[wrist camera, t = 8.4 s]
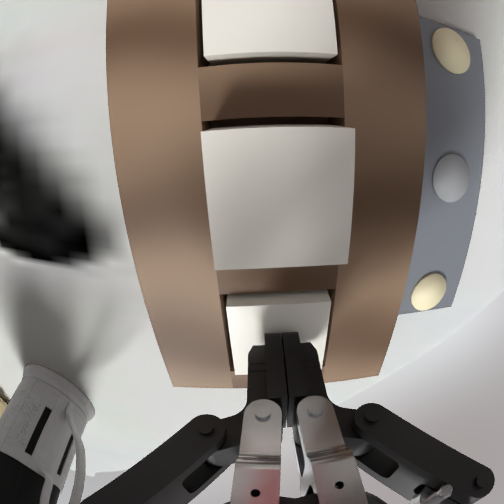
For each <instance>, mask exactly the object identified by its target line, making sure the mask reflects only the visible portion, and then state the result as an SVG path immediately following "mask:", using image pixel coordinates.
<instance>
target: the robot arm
mask: <svg viewBox="0 0 504 504" xmlns="http://www.w3.org/2000/svg"><path fill="white" fill-rule="evenodd" d="M264 338H265V345H253V346H252V348H251V350H250V351H249V353H248V382H247V403H246V406H245V407H244V409H243V410H242V411H241V412H239V413H238V414H236V415H234V416H231V417H227V418H223V419H219V418H218V417H216V416H214V415H208V414H205V415H200V416H197V417H195V418H194V419H192V420H191V421H190V422H189V423H188V424H186V425H185V426H184V427H183V428H182V429H180V430H179V431H178V432H177V433H175V434H174V435H173V436H172V437H170V438H169V439H168V440H167V441H165V442H164V443H163V444H162V445H160V446H159V447H158V448H156V449H155V450H154V451H153V452H151V453H150V454H149V455H147V456H146V457H145V458H143V459H142V460H141V461H139V462H138V463H137V464H135V465H134V466H133V467H131V468H130V469H128V470H127V471H126V472H124V473H123V474H122V475H120V476H119V477H118V478H116V479H115V480H113V481H112V482H110V483H109V484H107V485H106V486H104V487H103V488H101V489H100V490H98V491H97V492H95V493H94V494H92V495H91V496H89V497H87V498H86V499H84V500H83V501H82V502H81V503H80V504H188V503H189V502H190V501H191V500H192V499H193V498H195V497H196V496H197V495H198V494H199V493H201V491H203V490H204V489H205V488H206V487H207V486H208V485H209V484H211V483H212V482H213V481H214V480H215V479H216V478H217V477H218V476H219V475H220V474H222V473H223V472H224V471H225V469H227V468H228V467H229V466H230V465H231V464H232V463H235V471H234V478H233V485H232V492H231V500H230V502H227V503H225V504H387V503H385V502H384V501H383V500H381V499H380V498H378V497H377V496H375V495H373V494H370V493H368V492H365V491H364V487H363V484H362V481H361V477H360V474H359V470H358V467H359V468H361V469H362V470H364V471H365V472H366V473H368V474H369V475H371V476H372V477H374V478H375V479H376V480H378V481H379V482H381V483H382V484H384V485H385V486H387V487H389V488H390V489H392V490H393V491H395V492H397V493H398V494H400V495H401V496H403V497H404V498H406V499H408V500H409V501H410V503H409V504H473V503H475V502H476V501H478V500H480V499H481V498H483V497H484V496H486V495H487V494H489V492H490V491H491V490H492V488H493V486H494V481H495V478H494V474H493V472H492V471H491V469H489V468H488V467H486V466H484V465H482V464H480V463H478V462H476V461H475V460H473V459H471V458H469V457H467V456H465V455H464V454H461V453H459V452H458V451H456V450H455V449H453V448H451V447H449V446H447V445H446V444H444V443H442V442H440V441H439V440H437V439H435V438H434V437H432V436H430V435H428V434H426V433H425V432H423V431H422V430H420V429H418V428H417V427H415V426H413V425H412V424H410V423H409V422H407V421H405V420H403V419H402V418H400V417H399V416H397V415H396V414H394V413H392V412H391V411H389V410H388V409H386V408H384V407H383V406H381V405H379V404H375V403H368V404H364V405H362V406H361V407H359V408H358V409H357V410H356V409H348V408H342V407H339V406H337V405H335V404H333V403H332V402H331V401H330V400H329V398H328V396H327V393H326V388H325V384H324V379H323V375H322V370H321V366H320V361H319V357H318V353H317V349H316V348H315V347H314V346H313V345H312V344H311V342H305V343H300V338H299V333H298V332H283V333H282V335H281V333H265V334H264ZM286 421H287V427H293V436H294V437H293V446H294V451H295V457H296V462H297V467H298V472H299V478H300V492H301V497H300V498H287V497H280V496H279V494H280V469H281V442H282V433H283V428H285V427H286ZM357 466H358V467H357Z"/></svg>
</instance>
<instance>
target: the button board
mask: <svg viewBox="0 0 504 504" xmlns="http://www.w3.org/2000/svg"><path fill="white" fill-rule="evenodd" d="M332 2H333V10H334V19H335V29H336V39H337V52H338V54H337V55H336V56H334V57H333V58H331V59H330V60H329V61H327V62H326V63H324V64H321V63H296V62H269V63H243V64H229V65H218V66H212V65H211V64H210V63H209V62H208V61H207V59H206V58H205V57H204V49H203V26H202V0H108V1H107V21H106V70H107V91H108V106H109V118H110V128H111V137H112V146H113V154H114V161H115V168H116V175H117V181H118V187H119V193H120V199H121V204H122V209H123V215H124V220H125V224H126V229H127V234H128V238H129V243H130V247H131V252H132V256H133V260H134V264H135V268H136V272H137V276H138V279H139V283H140V287H141V291H142V294H143V298H144V301H145V305H146V308H147V311H148V315H149V318H150V321H151V324H152V327H153V331H154V334H155V337H156V340H157V343H158V346H159V349H160V352H161V354H162V357H163V360H164V363H165V366H166V368H167V371H168V374H169V377H170V379H171V382H172V384H173V386H174V387H194V388H247V382H248V375H235V370H234V363H233V356H232V349H231V341H230V334H229V326H228V318H227V311H226V303H227V295H228V294H246V293H269V292H290V291H307V290H323V289H327V291H328V294H329V297H330V299H331V308H330V316H329V324H328V331H327V338H326V345H325V351H324V358H323V364H322V375H323V379H324V383H328V382H337V381H344V380H352V379H359V378H365V377H371V376H377V375H379V372H380V370H381V367H382V364H383V361H384V358H385V355H386V352H387V349H388V346H389V343H390V340H391V337H392V334H393V330H394V327H395V323H396V320H397V317H398V313H399V309H400V306H401V302H402V298H403V294H404V290H405V286H406V281H407V277H408V273H409V268H410V263H411V258H412V253H413V248H414V242H415V237H416V231H417V224H418V218H419V211H420V203H421V195H422V185H423V175H424V162H425V144H426V84H425V67H424V55H423V45H422V37H421V29H420V22H419V16H418V10H417V5H416V0H332ZM274 124H322V125H335V126H342V127H349V128H355V171H354V194H353V210H352V224H351V236H350V247H349V257H348V264H340V265H322V266H302V267H282V268H260V269H236V270H215V268H214V260H213V252H212V243H211V234H210V226H209V217H208V207H207V198H206V188H205V177H204V166H203V155H202V143H201V132H202V131H205V130H208V129H212V128H219V127H232V126H248V125H274Z"/></svg>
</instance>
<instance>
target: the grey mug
mask: <svg viewBox="0 0 504 504" xmlns="http://www.w3.org/2000/svg"><path fill="white" fill-rule="evenodd" d="M94 415H95V410H94V407H93V405H92V403H91V402H90V400H89V399H88V398H87V397H86V396H85V395H84V394H83V393H82V392H81V391H80V390H79V389H78V388H77V387H76V386H75V385H73V384H72V383H71V382H69V381H68V380H67V379H65V378H64V377H62V376H61V375H59V374H57V373H56V372H54V371H52V370H50V369H48V368H45V367H43V366H40V365H36V364H29V365H27V366H25V368H24V371H23V378H22V381H21V383H20V384H19V386H18V388H17V389H16V391H15V393H14V395H13V396H12V398H11V400H10V402H9V403H8V405H7V407H6V409H5V410H4V412H3V414H2V416H1V418H0V504H56V503H57V500H58V497H59V495H60V494H61V493H62V490H63V487H64V484H65V481H66V478H67V475H68V472H69V469H70V466H71V463H72V460H73V458H74V455H75V452H76V474H75V481H74V486H73V490H72V494H71V498H70V501H69V504H80V501H81V497H82V493H83V489H84V480H85V449H84V445H83V442H82V440H81V436H82V433H83V431H84V428H85V426H86V424H87V422H88V421H89V420H91V419H92V418H93V417H94Z"/></svg>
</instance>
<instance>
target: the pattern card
mask: <svg viewBox="0 0 504 504" xmlns="http://www.w3.org/2000/svg"><path fill="white" fill-rule="evenodd" d="M419 22H420V29H421V37H422V45H423V55H424V67H425V84H426V144H425V162H424V175H423V185H422V195H421V203H420V211H419V218H418V224H417V231H416V237H415V242H414V248H413V253H412V258H411V263H410V268H409V273H408V277H407V281H406V286H405V290H404V294H403V298H402V302H401V306H400V309H399V313H398V315H399V314H406V313H413V312H420V311H427V310H433V309H439V308H445V307H451V305H452V302H453V300H454V297H455V294H456V290H457V287H458V284H459V281H460V278H461V274H462V271H463V267H464V264H465V260H466V256H467V252H468V248H469V244H470V240H471V235H472V231H473V226H474V221H475V215H476V210H477V204H478V198H479V191H480V184H481V176H482V166H483V155H484V139H485V89H484V73H483V62H482V53H481V46H480V40H479V39H477V38H475V37H473V36H470V35H468V34H466V33H463V32H461V31H459V30H456V29H453V28H451V27H448V26H446V25H443V24H440V23H437V22H434V21H431V20H428V19H425V18H422V17H419Z"/></svg>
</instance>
